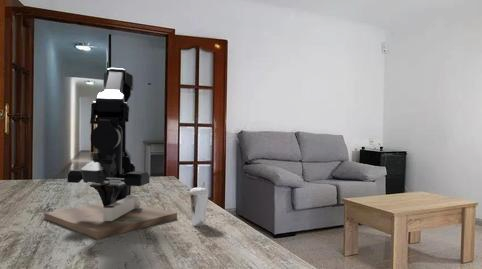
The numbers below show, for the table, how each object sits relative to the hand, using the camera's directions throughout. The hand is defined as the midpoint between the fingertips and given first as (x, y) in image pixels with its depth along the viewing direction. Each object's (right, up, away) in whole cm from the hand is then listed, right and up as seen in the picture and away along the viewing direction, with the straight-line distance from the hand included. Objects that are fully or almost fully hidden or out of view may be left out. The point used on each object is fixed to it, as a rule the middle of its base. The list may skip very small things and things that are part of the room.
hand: (107, 212), depth 84 cm
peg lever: (+3, -1, +3) cm, 4 cm away
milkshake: (+22, -3, +1) cm, 22 cm away
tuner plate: (-1, -3, +4) cm, 5 cm away
